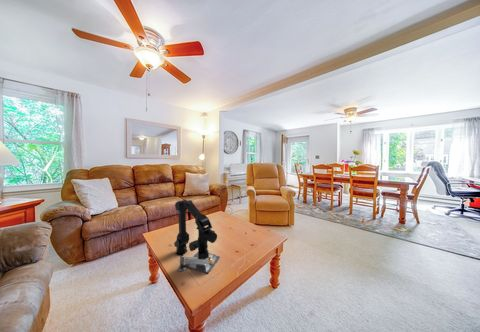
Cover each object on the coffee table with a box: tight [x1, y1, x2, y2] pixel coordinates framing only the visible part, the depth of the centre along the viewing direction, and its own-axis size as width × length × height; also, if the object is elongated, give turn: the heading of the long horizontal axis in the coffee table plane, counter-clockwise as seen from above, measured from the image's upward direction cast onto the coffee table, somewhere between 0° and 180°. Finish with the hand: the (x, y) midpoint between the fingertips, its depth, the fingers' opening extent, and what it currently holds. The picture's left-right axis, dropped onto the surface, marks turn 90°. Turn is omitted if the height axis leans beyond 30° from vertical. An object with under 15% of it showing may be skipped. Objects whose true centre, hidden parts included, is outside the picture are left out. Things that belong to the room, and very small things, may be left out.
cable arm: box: [184, 256, 212, 265], centre depth 98 cm, size 18×2×3 cm, turn 87°
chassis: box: [184, 251, 221, 275], centre depth 106 cm, size 18×16×3 cm
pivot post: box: [177, 254, 187, 273], centre depth 99 cm, size 5×5×8 cm
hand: (202, 259), depth 101 cm, fingers closed
